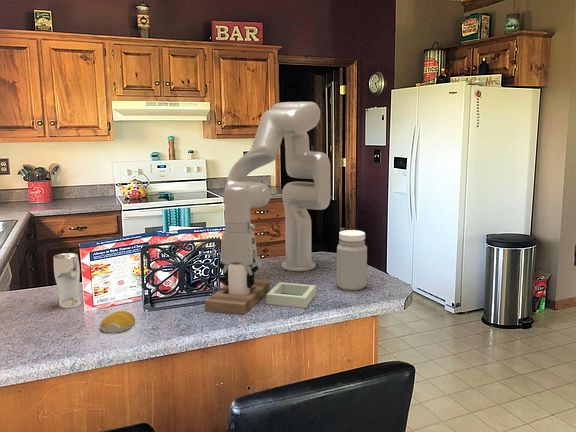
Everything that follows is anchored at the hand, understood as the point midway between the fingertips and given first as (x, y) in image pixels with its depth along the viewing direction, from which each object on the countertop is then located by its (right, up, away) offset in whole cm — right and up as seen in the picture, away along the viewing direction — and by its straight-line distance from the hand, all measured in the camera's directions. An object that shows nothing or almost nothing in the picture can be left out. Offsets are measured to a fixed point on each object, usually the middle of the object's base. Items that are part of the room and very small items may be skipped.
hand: (239, 285), depth 155 cm
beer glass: (-50, -6, -2) cm, 51 cm away
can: (0, -5, +1) cm, 5 cm away
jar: (+35, -2, +13) cm, 38 cm away
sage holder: (+16, -4, +1) cm, 17 cm away
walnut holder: (0, -5, +1) cm, 5 cm away
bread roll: (-30, -9, -19) cm, 37 cm away
